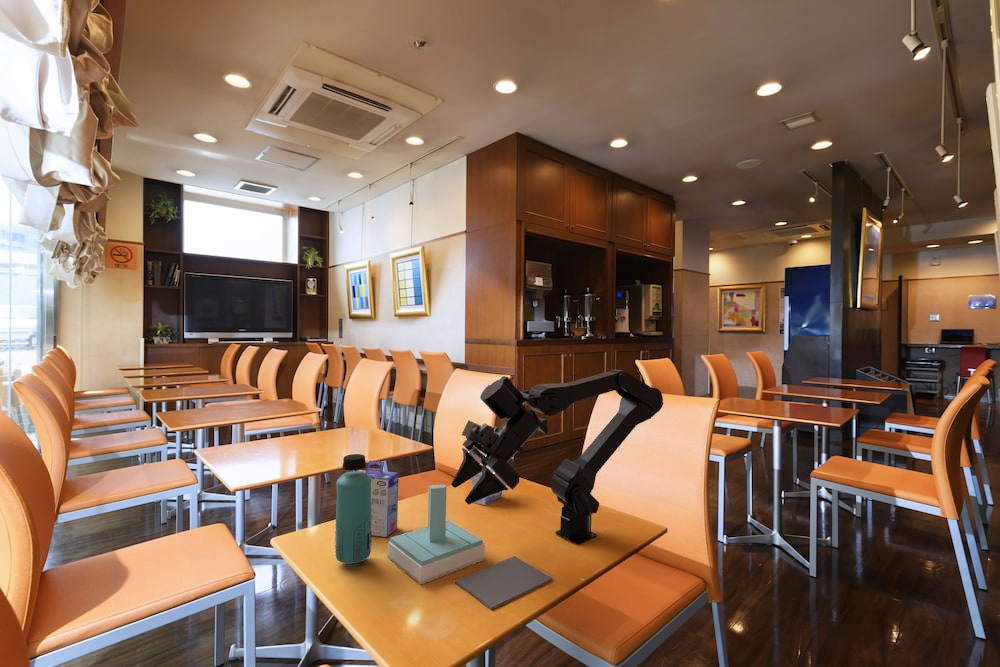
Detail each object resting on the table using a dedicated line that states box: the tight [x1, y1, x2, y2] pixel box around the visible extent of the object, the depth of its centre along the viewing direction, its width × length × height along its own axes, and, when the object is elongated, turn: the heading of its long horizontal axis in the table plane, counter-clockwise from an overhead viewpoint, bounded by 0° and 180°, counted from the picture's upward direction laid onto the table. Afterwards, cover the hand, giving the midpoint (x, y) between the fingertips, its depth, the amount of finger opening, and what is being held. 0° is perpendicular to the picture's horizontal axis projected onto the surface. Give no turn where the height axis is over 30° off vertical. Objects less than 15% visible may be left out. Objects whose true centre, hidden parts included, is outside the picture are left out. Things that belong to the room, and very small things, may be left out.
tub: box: [387, 540, 486, 586], centre depth 88 cm, size 14×12×3 cm
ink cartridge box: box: [357, 460, 399, 538], centre depth 100 cm, size 10×6×14 cm, turn 78°
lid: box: [389, 484, 484, 566], centre depth 88 cm, size 13×11×11 cm
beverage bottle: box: [334, 453, 373, 564], centre depth 86 cm, size 6×7×20 cm
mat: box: [454, 555, 554, 611], centre depth 81 cm, size 14×10×1 cm
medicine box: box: [471, 464, 503, 507], centre depth 120 cm, size 8×4×9 cm, turn 147°
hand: (459, 494), depth 90 cm, fingers open, 9 cm apart
